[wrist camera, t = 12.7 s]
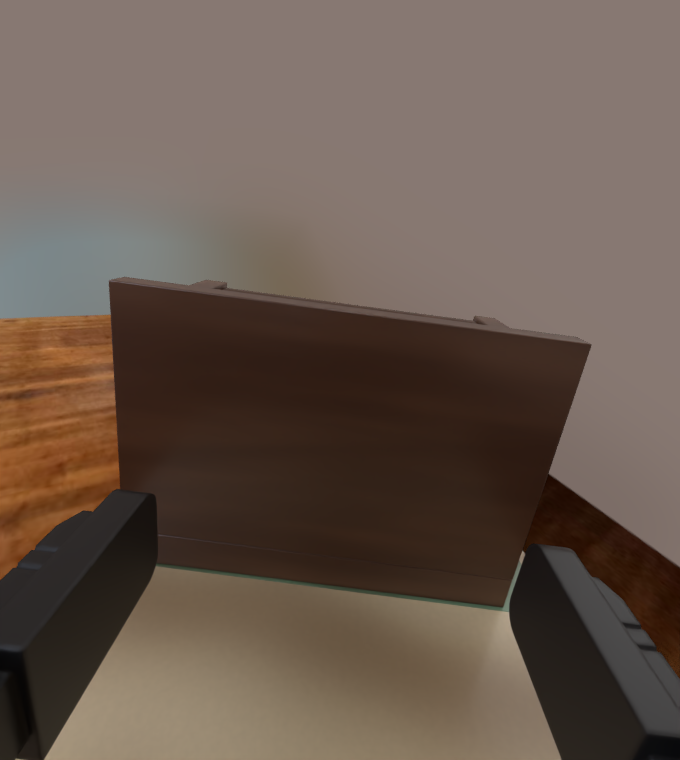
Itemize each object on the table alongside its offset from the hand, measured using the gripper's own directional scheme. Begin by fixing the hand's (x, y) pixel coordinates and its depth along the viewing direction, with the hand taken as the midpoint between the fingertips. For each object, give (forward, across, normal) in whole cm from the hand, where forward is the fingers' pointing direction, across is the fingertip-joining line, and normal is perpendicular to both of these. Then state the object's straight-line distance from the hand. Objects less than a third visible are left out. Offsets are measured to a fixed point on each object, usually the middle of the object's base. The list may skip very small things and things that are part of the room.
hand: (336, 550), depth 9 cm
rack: (+11, 0, +8) cm, 14 cm away
